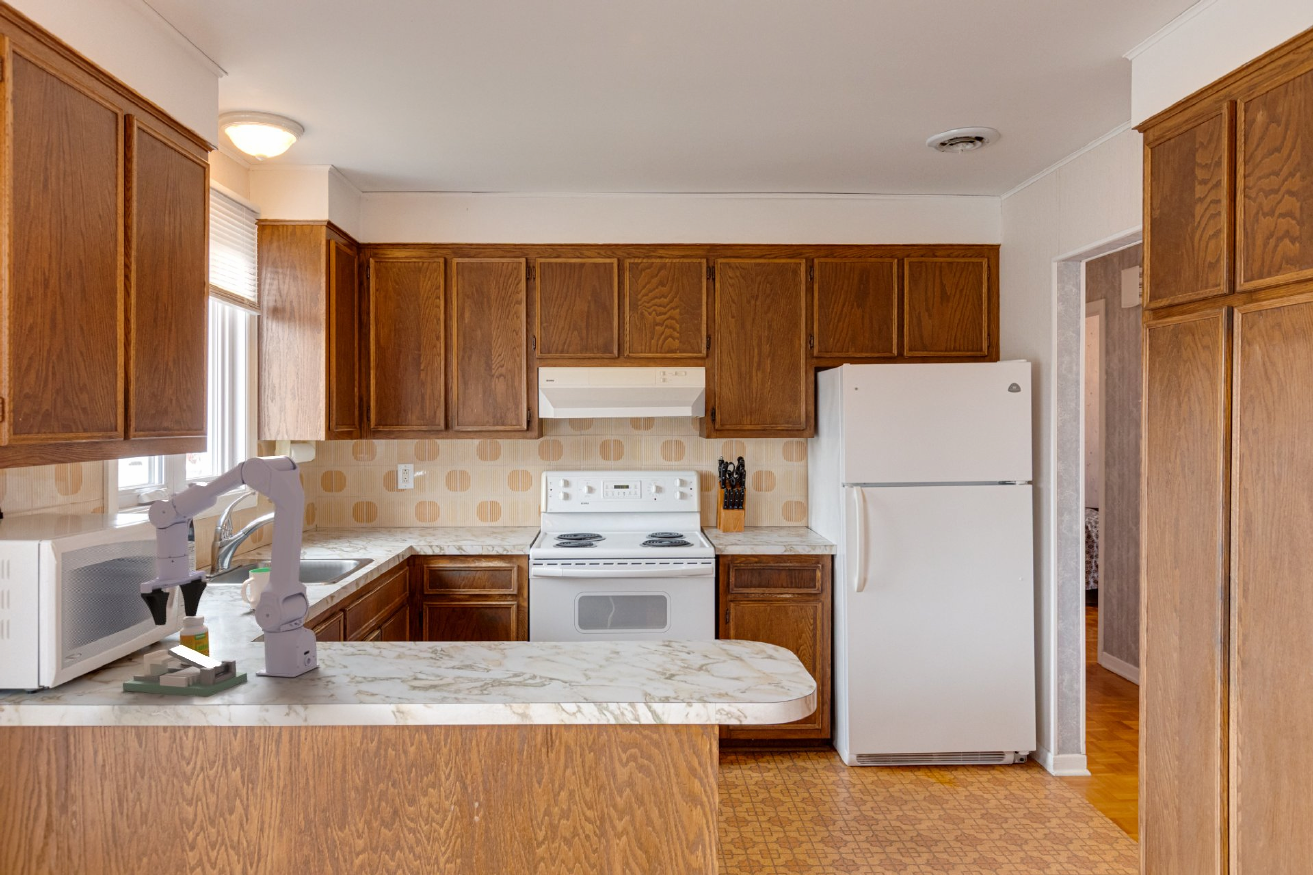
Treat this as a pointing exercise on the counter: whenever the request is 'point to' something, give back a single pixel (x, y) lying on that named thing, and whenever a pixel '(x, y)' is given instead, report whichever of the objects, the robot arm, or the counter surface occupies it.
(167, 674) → the heatsink board
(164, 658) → the clip
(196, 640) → the supplement bottle
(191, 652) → the strap
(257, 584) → the mug
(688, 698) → the counter surface
